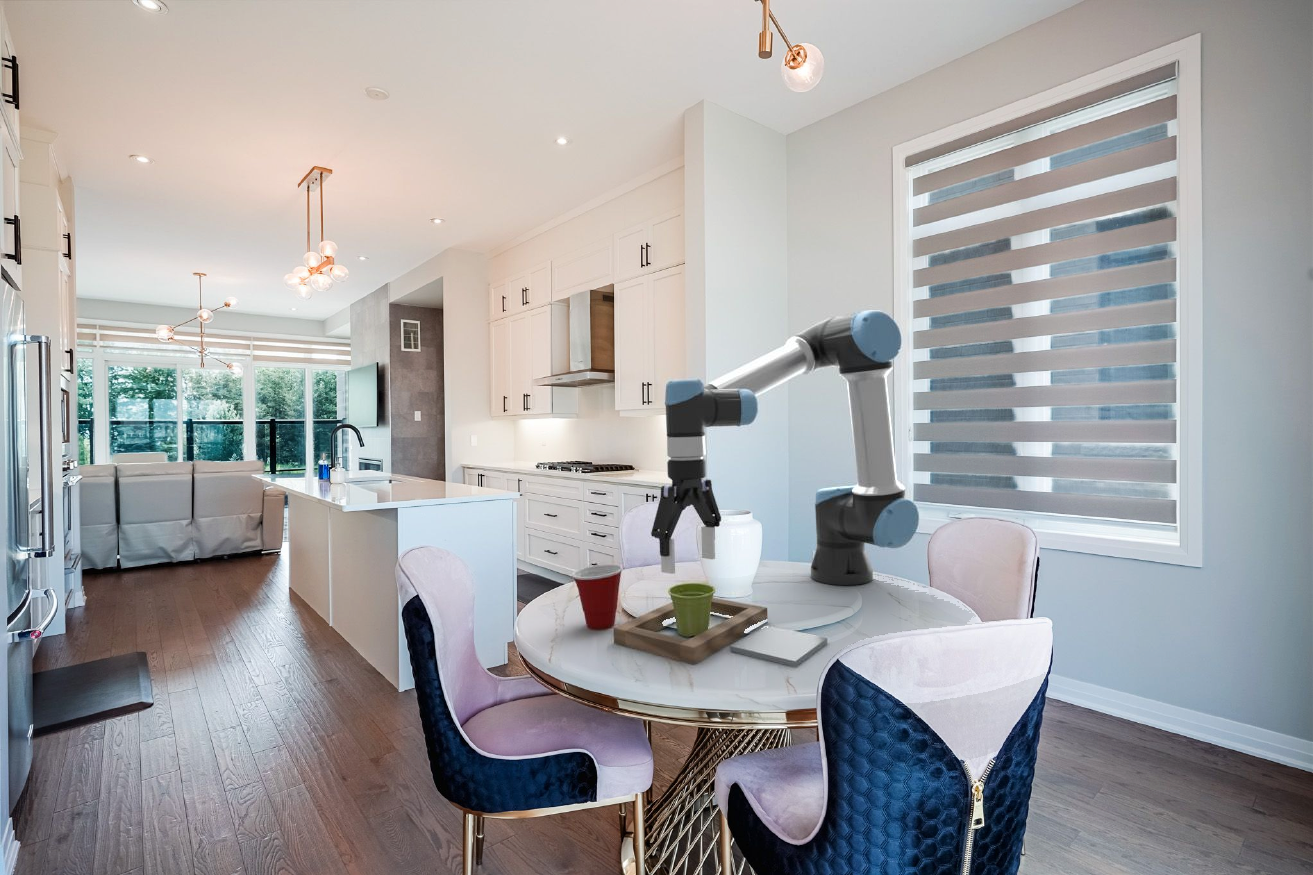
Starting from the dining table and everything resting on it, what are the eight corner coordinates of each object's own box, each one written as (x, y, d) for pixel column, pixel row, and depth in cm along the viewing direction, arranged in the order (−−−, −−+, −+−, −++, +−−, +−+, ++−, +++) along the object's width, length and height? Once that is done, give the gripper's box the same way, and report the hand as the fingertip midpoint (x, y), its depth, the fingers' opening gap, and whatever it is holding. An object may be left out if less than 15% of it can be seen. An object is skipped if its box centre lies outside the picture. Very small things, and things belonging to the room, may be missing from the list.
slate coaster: (765, 630, 128) (765, 625, 128) (827, 643, 120) (827, 637, 120) (730, 651, 118) (730, 645, 118) (795, 666, 110) (795, 661, 110)
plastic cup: (583, 616, 141) (580, 561, 141) (631, 617, 139) (628, 562, 139) (566, 633, 131) (563, 575, 130) (617, 635, 129) (614, 575, 128)
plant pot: (726, 630, 129) (724, 587, 128) (695, 644, 122) (693, 599, 121) (691, 621, 135) (689, 580, 135) (659, 633, 128) (658, 590, 128)
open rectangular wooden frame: (692, 606, 145) (691, 593, 144) (767, 621, 133) (767, 607, 133) (613, 643, 124) (613, 627, 124) (694, 664, 112) (693, 647, 112)
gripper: (706, 453, 139) (708, 551, 140) (630, 462, 119) (633, 576, 120) (736, 454, 134) (738, 555, 135) (662, 464, 115) (665, 582, 116)
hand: (689, 565), depth 128 cm, fingers open, 13 cm apart
